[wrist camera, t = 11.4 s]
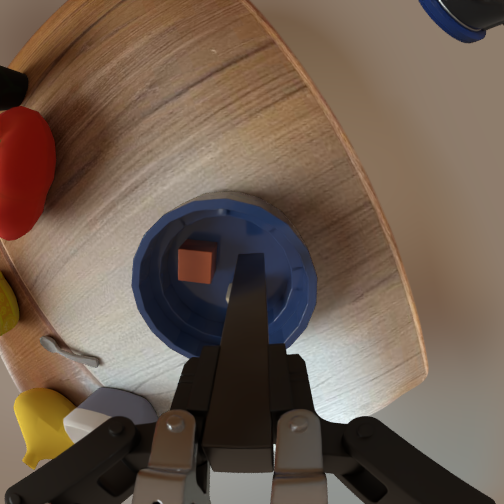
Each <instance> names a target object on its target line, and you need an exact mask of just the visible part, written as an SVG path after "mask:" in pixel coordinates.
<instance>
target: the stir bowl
mask: <svg viewBox="0 0 504 504" xmlns="http://www.w3.org/2000/svg"><path fill="white" fill-rule="evenodd" d="M187 239H191V240H200V241H210V242H217V255H216V271H215V273H214V276H213V279H212V281H211V284H205V283H197V282H189V281H181V280H178V249H179V248H180V246H181V245H182V244H183V243H184V242H185V241H186V240H187ZM250 253H264V260H265V277H266V295H267V313H268V333H269V344H277V343H285V346H286V349H287V348H289V347H290V346H291V345H292V344H293V343H294V342H295V340H296V339H297V338H298V337H299V336H300V335H301V334H302V333H303V331H304V330H305V329H306V327H307V325H308V323H309V321H310V318H311V316H312V313H313V311H314V308H315V306H316V299H317V275H316V272H315V269H314V266H313V263H312V260H311V257H310V254H309V251H308V249H307V247H306V245H305V243H304V241H303V239H302V237H301V235H300V234H299V232H298V231H297V229H296V228H295V227H294V226H293V224H292V223H291V222H290V221H289V219H288V218H287V217H286V216H285V214H284V213H283V212H282V211H280V210H279V209H277V208H276V207H274V206H272V205H271V204H269V203H268V202H266V201H264V200H263V199H261V198H259V197H256V196H252V195H248V194H244V193H240V192H235V191H223V192H212V193H205V194H202V195H200V196H198V197H196V198H193V199H191V200H189V201H187V202H185V203H182V204H181V205H179V206H177V207H176V208H174V209H172V210H171V211H169V212H167V213H166V214H164V215H163V216H162V217H161V218H160V219H159V220H158V221H157V222H156V223H155V224H154V225H153V226H152V227H151V228H150V229H149V230H148V231H147V232H146V233H145V235H144V236H143V238H142V240H141V243H140V245H139V247H138V249H137V252H136V254H135V256H134V259H133V268H132V290H133V293H134V297H135V301H136V304H137V308H138V310H139V312H140V314H141V315H142V317H143V319H144V320H145V322H146V323H147V325H148V327H149V328H150V330H151V331H152V332H153V333H154V334H155V335H156V336H157V337H158V338H159V339H160V340H161V341H162V342H164V343H165V344H166V345H167V346H168V347H169V348H170V349H172V350H174V351H176V352H178V353H179V354H181V355H183V356H185V357H187V358H189V359H190V358H191V357H200V355H201V351H202V347H203V346H218V345H220V342H221V337H222V332H223V327H224V322H225V317H226V312H227V307H228V302H227V300H226V295H227V291H228V286H229V284H231V283H232V282H233V277H234V272H235V268H236V263H237V258H238V254H250Z"/></svg>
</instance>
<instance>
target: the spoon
mask: <svg viewBox="0 0 504 504" xmlns="http://www.w3.org/2000/svg"><path fill="white" fill-rule="evenodd" d="M40 343H41V345H42V346H43V347H44V348H45V349H47V350H48V351H50V352H57V353H59V354H61V355H63V356H65V357H67V358H69V359H71V360H73V361H76V362H79V363H82V364H85V365H88V366H91V367H95V368H97V367H98V365H99V361H98V359H97V358H95V357H88V356H82V355H77V354H73V353H69V352H67V351H64V350H62V349H61V348H60V347H59V346H58V345H57V343H56V341H55V340H54V339H52V338H51V337H49V336H42V337H41V338H40Z"/></svg>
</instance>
